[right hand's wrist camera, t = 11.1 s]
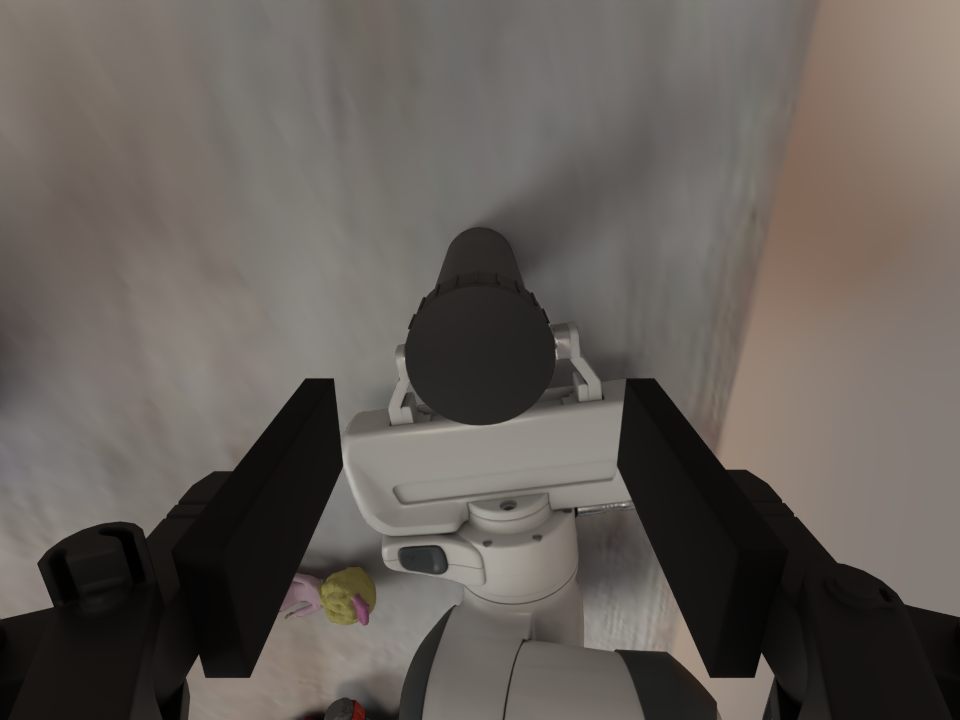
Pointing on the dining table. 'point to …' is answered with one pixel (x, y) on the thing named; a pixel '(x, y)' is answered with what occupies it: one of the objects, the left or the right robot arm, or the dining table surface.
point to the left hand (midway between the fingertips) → (485, 336)
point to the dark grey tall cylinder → (480, 255)
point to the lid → (480, 349)
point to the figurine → (334, 596)
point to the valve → (345, 711)
